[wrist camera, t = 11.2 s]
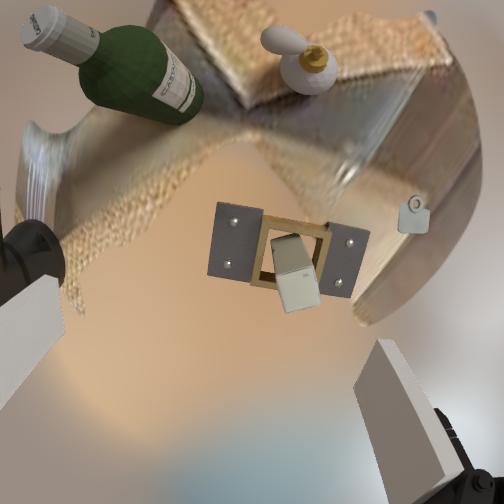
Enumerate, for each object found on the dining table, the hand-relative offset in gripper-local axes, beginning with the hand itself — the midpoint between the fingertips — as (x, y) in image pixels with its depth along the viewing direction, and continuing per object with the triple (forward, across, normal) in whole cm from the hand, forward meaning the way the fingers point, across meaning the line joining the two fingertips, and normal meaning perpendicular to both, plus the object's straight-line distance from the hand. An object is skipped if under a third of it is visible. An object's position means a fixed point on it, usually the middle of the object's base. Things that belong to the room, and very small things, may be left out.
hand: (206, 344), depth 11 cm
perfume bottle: (+32, +4, +20) cm, 38 cm away
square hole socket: (+32, +8, -6) cm, 34 cm away
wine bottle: (+32, -12, +13) cm, 37 cm away
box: (+32, +8, -6) cm, 34 cm away
